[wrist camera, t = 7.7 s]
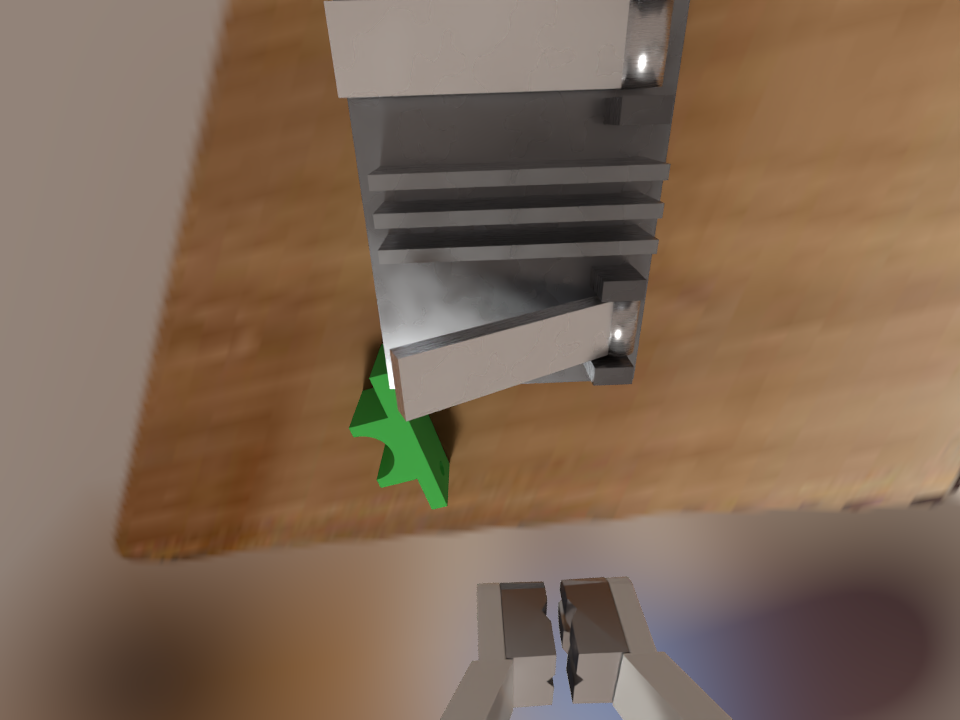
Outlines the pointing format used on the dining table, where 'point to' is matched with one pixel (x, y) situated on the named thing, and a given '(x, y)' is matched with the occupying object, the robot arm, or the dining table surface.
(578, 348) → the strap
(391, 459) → the pipe clamp
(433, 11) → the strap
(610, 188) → the heatsink block
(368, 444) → the dining table surface
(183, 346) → the dining table surface
